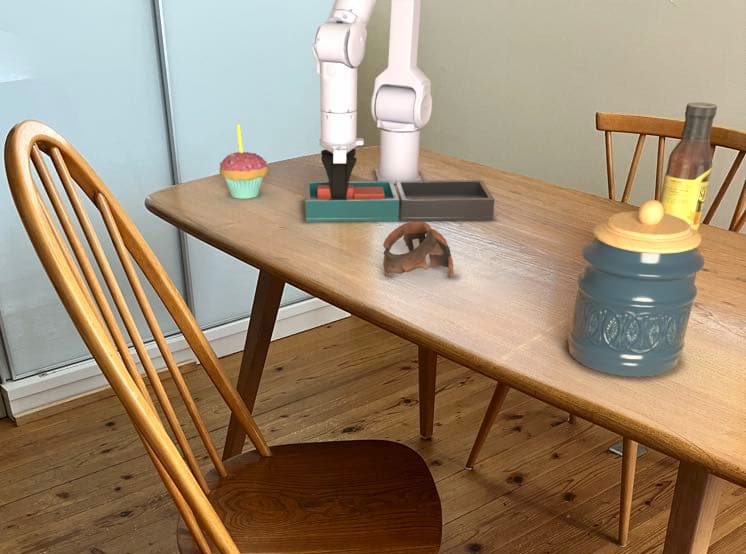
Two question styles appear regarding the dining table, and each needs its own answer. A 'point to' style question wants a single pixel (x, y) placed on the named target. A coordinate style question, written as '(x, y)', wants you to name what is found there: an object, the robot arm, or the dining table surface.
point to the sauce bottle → (690, 166)
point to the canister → (635, 293)
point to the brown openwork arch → (416, 249)
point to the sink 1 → (352, 204)
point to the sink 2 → (444, 200)
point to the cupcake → (243, 171)
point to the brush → (352, 192)
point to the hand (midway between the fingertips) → (338, 198)
